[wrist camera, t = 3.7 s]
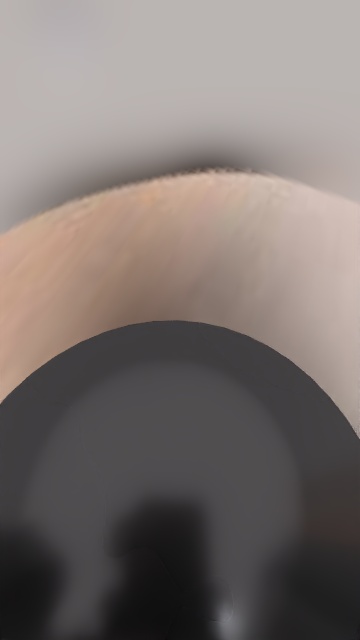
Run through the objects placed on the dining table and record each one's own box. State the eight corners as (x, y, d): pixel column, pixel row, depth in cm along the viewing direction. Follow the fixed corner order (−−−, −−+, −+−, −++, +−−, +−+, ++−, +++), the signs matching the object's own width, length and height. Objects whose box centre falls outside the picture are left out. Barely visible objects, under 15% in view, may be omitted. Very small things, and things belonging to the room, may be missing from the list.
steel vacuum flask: (218, 443, 15) (547, 655, 2) (140, 495, 13) (-34, 1499, 1) (175, 368, 16) (244, 239, 3) (101, 409, 15) (-192, 440, 2)
